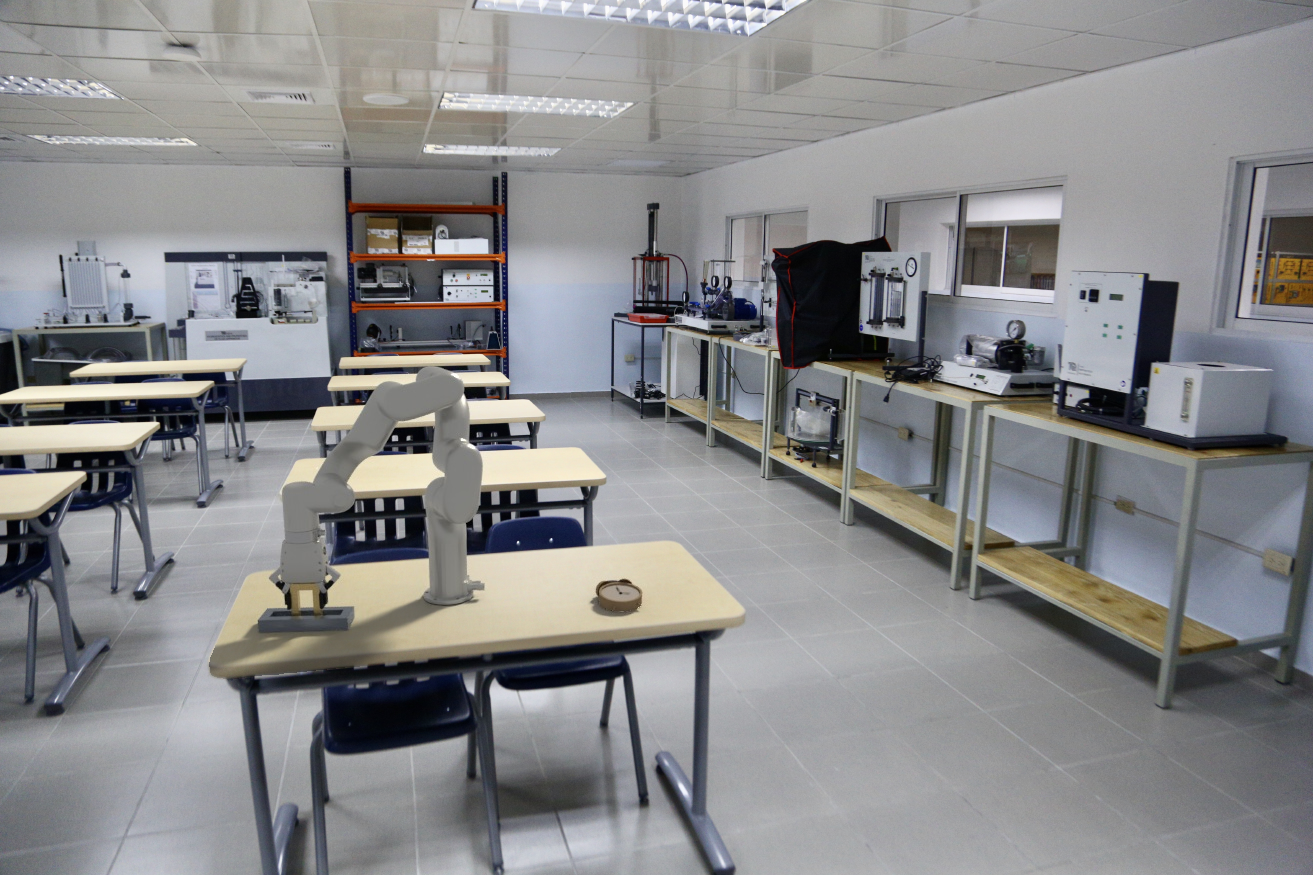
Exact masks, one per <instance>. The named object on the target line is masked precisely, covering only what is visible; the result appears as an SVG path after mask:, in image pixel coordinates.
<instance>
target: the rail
mask: <svg viewBox="0 0 1313 875" xmlns="http://www.w3.org/2000/svg"><path fill="white" fill-rule="evenodd" d="M300 608H301V616H292V611H291V609H290V610H287V607H273V608H271V607H269V608H268V607H267V608H266V609H265V610H264V612H263V613H262V615H260V617H259V618H258V619H257V629H258V630H257V632H258V633H285V632H286V633H289V632H290V633H292V632H296V633H297V632H324V631H325V632H326V631H348V630H349V629H350V628H351V626H352V623H353V621H354V620H355V606H353V605H351V606H350V605H349V606H348V605H347V606H325V607H324V608H323V616H314V608H313V606H311V607H310V606H309V607H304V606H303V607H300Z"/></svg>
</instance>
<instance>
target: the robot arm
mask: <svg viewBox="0 0 1313 875" xmlns="http://www.w3.org/2000/svg"><path fill="white" fill-rule="evenodd" d="M464 392H465V383H464V381H463V380H462V378H461V377H460V376H459V375H458V374H457V373H455V372H453V371H451V370H448V369H446V368H445V369H444V368H443V367H440V366H435V365H434V366H433V365H429V366H424V367H423V368H421V369H419V371H418V372H417V374H416V376H415V381H413V382H409V383H405V384H402V383H400V382H396V381H392V380H391V381H390V380H387V381H383V382H381V383H379V384H378V385H377V386H376V387H375V389H374V390H373V391H372V393H371V394H370V396H369V397H368V400H367V401H366V403H365V405H364V406H363V408H362V410H361V411H360V414H359V415H358V416H357V417H356V418H357V419H356V420H355V421H354V423H353V425H352V427H351V428H350V430H349V432H347V434H346V435H345V436H344V437H343V438H342V439H341V440H340V441H339V442H338V443H337V444H336V446H335V447H334V448H333V449H332V450H331V451H330V453H329V454H328V455H327V456H326V458H325V459H324V461H323V462H322V465H321V466H320V468H319V470H318V471H317V473H316V475H315V476H314V479H313V481H312V482H311V481H307V480H306V481H303V480H301V481H293V482H289V483H286V484H285V485H284V486H283V487H282V490H281V500H282V502H281V503H282V513H283V514H282V515H283V516H282V517H283V528H284V529H283V530H284V531H283V533H284V539H283V540H282V543H281V548H280V549H281V550H280V560H279V562H280V563H279V567H278V568H277V569H276V570H275V571H273V573H272V574H270V576H269V577H268V580H269V581H271V583H273V584H274V585H275V587H276V588H278V589H279V590H280V591H281V593H282V594H283V598H284V605H285V606H286V608H287V610H290V609H291V595H290V586H291V584H292V583H316V584H317V585H318V587H319V589H320V593H319V606H320V609H323V608H324V607H326V605H327V604H328V603H329V594H328V591H329V590H330V588H332V586H334V584H335V583H336V582H337V581H338V580H339V579H340V577H341V576H342V575H341V573H340V572H338V570H336V569H335V568H333V567H332V566H331V565H330V563H329V561H330V560H329V556H328V550H327V545H326V541H325V538H324V537H323V536H326V535H327V530H326V529H322V528H321V525H320V518H319V517H320V516H319V515H320V514H339V513H344V512H346V511H348V510H350V509H351V507H352V506H353V505H354V503H355V501H356V494H355V491H354V489H353V487H352V486H351V485H350V484H349V483H348V482H349V480H350V478H351V477H352V475H353V473H354V472H355V470H356V469H357V468H358V466H360V465H361V463H362V462H364V461H365V460H366V459H369V458H371V457H372V456H374V455H377V454H378V453H380V452H381V451H382V450H383V449H384V447H385V445H386V444H387V441H388V440H389V438H390V436H391V435H392V434H393V431H394V429H395V428H396V427H397V424H398V423H399V422H408V421H411V420H415V419H419V418H423V417H424V416H427V415H430V414H433V413H434V432H433V442H432V454H431V459H432V463H433V465H434V467H436V469H437V470H438V471H440V472H442V473H443V474H444V476H440V477H436V478H434V479H433V480H431V481H430V483H429V484H428V485H427V487H426V489H425V491H424V507H425V513H426V519H427V520H426V521H427V532H428V533H427V534H428V536H427V537H428V541H427V542H428V570H429V571H428V572H429V573H428V577H429V587H428V588H426V589H425V590H424V591H423V599H424V600H425V601H426V602H428V603H430V604H433V605H441V606H447V605H448V606H451V605H457V604H461V603H464V602H467V601H468V600H470V599H472V598H473V596H474V591H481V592H482V591H485V589H486V588H485V585H486V584H485V583H484V582H481V580H472V579H470V575H468V565H467V564H468V560H467V558H468V557H467V554H468V552H467V551H468V550H467V524H466V523H468V522H470V521H472V519H474V517H475V516H476V514H477V513H478V510H479V506H480V501H481V492H482V480H483V468H484V466H483V465H484V464H483V462H484V461H483V457H482V455H481V452H480V450H479V448H478V447H477V446H475V445H474V444H472V443H470V421H471V418H470V417H471V416H470V415H471V412H470V406H469V403H468V399H467V398H466V395H465V393H464ZM279 576H280V577H279ZM327 576H330V577H331V578H330V579H329V580H328V581H327V580H326V577H327Z"/></svg>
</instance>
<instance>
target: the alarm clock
mask: <svg viewBox="0 0 1313 875" xmlns="http://www.w3.org/2000/svg"><path fill="white" fill-rule="evenodd" d="M595 594H596V596H597V597H598V605H599V606H600V607H601V606H602V607H603V608H606V609H607V610H606V611H608V610H613V611H624V612H623V613H627V612H626V611H628V612H631V611H630V610H633V611H635V609H636V610H638V609H639V608H641V607H642V605H641V604H642V603H643V591H642V589H641V588H640V587H639V586H638V585H635V584H633V582H632V581H631V579H628V578H621V579H618V580H617V579H610V580H602V581H600V582H599V583H598V584H597V585H596V588H595ZM640 606H641V607H640ZM602 607H601V608H602ZM638 607H639V608H638ZM603 608H602V609H603ZM637 608H638V609H637ZM613 611H612V612H613Z"/></svg>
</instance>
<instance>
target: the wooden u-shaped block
mask: <svg viewBox="0 0 1313 875" xmlns="http://www.w3.org/2000/svg"><path fill="white" fill-rule="evenodd" d="M300 591H312V607H313V608H314V616H323V609H320V606H319V593H320V589H319V587H318V585H317V584H316V583H292V584H291V586H290V595H291V611H292V616H301V608H302V607H301V598H300V597H301V596H300V595H301V593H300Z"/></svg>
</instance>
